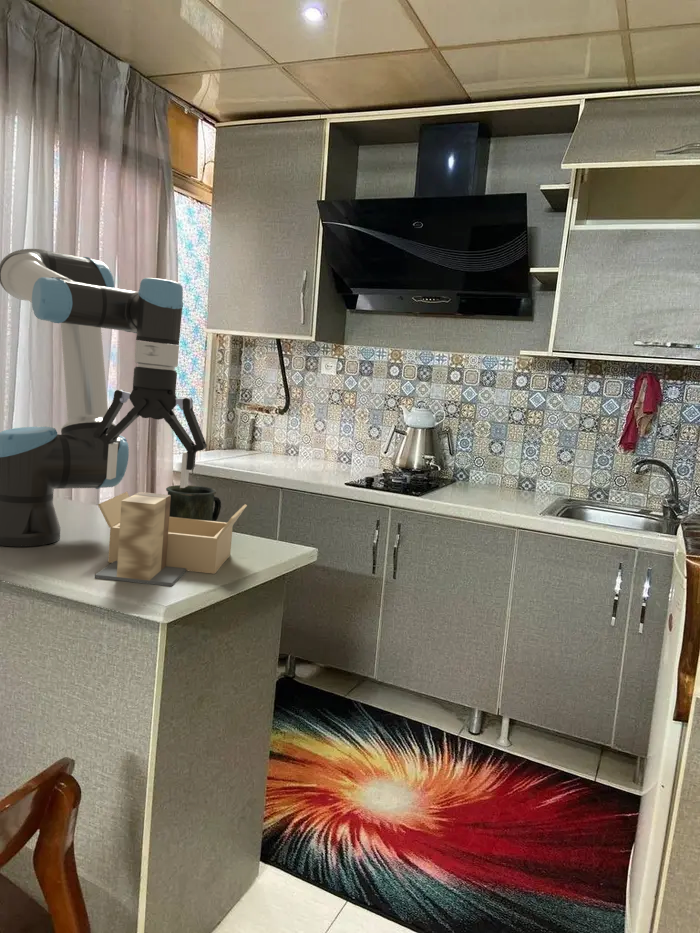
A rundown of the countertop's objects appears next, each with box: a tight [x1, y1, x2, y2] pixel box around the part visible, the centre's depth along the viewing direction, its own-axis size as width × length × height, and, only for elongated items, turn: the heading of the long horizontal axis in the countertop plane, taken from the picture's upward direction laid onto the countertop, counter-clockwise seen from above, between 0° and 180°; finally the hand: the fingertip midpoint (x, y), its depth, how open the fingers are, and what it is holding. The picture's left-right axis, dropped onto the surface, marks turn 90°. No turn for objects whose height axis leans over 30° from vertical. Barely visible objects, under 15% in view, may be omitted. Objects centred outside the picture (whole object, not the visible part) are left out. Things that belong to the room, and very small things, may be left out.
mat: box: [94, 561, 187, 587], centre depth 133 cm, size 14×10×1 cm
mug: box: [165, 484, 222, 522], centre depth 162 cm, size 11×15×12 cm
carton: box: [97, 491, 248, 575], centre depth 145 cm, size 26×15×12 cm, turn 88°
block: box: [117, 491, 171, 581], centre depth 132 cm, size 6×10×14 cm, turn 178°
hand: (147, 482), depth 131 cm, fingers open, 13 cm apart
